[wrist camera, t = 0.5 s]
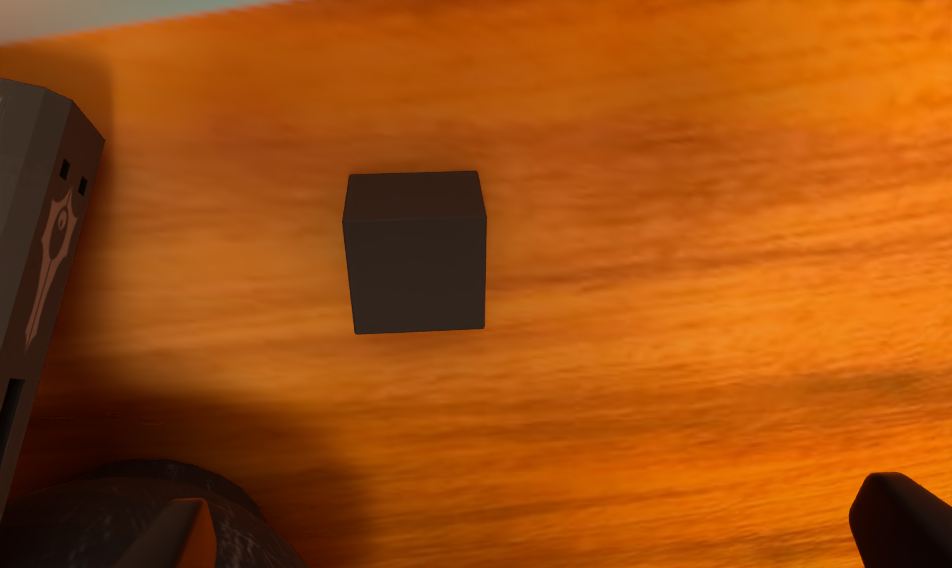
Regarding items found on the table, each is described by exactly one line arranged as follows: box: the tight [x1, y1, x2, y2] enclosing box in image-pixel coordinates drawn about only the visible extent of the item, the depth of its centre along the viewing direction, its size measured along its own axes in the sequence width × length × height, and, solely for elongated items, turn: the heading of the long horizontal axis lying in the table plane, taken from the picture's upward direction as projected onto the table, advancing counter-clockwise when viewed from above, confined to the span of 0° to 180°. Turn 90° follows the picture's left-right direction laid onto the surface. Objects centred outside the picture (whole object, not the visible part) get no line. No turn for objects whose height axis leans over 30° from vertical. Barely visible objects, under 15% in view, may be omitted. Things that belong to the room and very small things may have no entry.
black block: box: [342, 171, 487, 335], centre depth 22 cm, size 4×4×3 cm
